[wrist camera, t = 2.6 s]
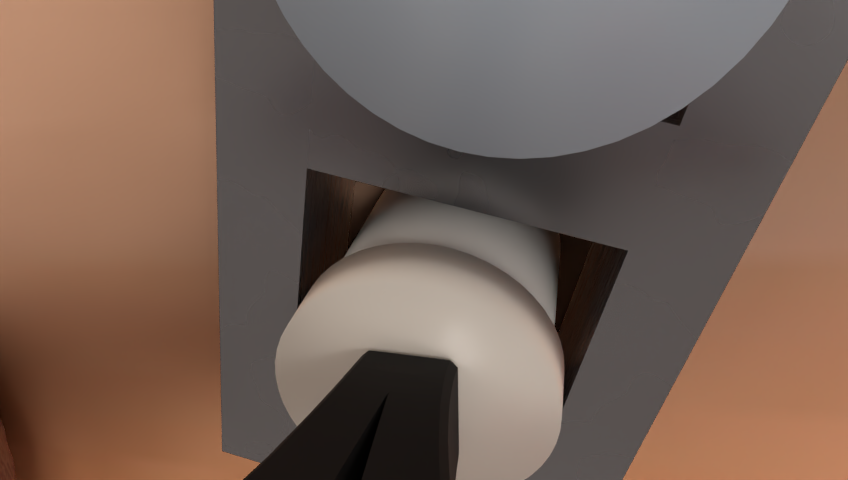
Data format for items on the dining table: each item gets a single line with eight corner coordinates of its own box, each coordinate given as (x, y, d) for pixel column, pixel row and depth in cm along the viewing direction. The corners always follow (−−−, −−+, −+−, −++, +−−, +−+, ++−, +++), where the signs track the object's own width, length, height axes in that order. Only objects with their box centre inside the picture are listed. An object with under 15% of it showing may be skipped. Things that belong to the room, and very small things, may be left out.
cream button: (599, 179, 12) (603, 333, 8) (538, 351, 14) (520, 529, 11) (374, 124, 12) (280, 246, 9) (352, 299, 15) (270, 453, 11)
